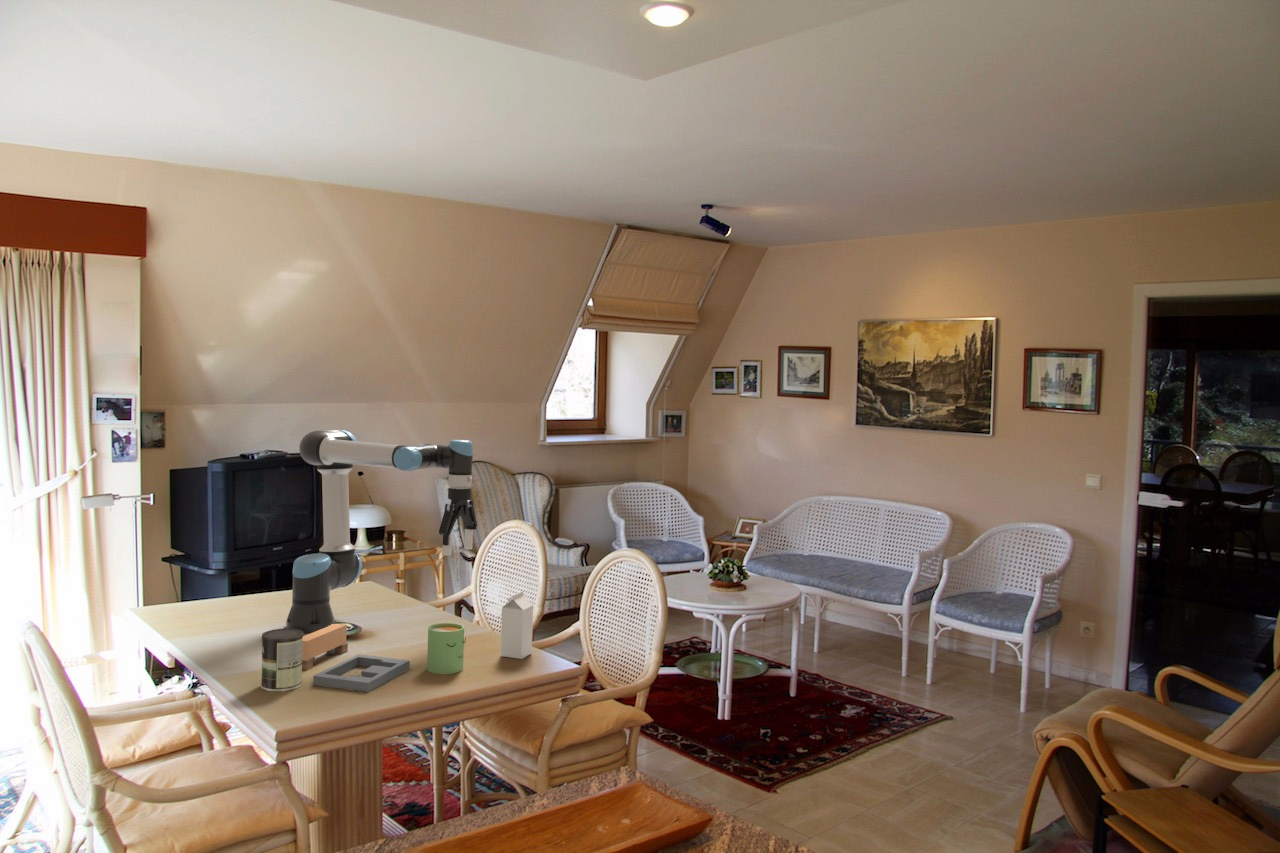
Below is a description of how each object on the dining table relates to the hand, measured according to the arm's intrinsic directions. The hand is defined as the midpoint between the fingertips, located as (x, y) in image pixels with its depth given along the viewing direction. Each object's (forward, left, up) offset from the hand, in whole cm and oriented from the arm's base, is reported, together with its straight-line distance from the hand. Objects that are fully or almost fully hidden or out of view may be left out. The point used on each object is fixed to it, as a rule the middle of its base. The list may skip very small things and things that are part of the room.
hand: (457, 552), depth 304 cm
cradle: (-23, -40, -27) cm, 54 cm away
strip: (-23, -40, -27) cm, 54 cm away
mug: (+15, -34, -27) cm, 46 cm away
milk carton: (+28, -15, -27) cm, 42 cm away
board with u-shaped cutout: (-3, -50, -27) cm, 57 cm away
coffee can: (-19, -65, -27) cm, 73 cm away
